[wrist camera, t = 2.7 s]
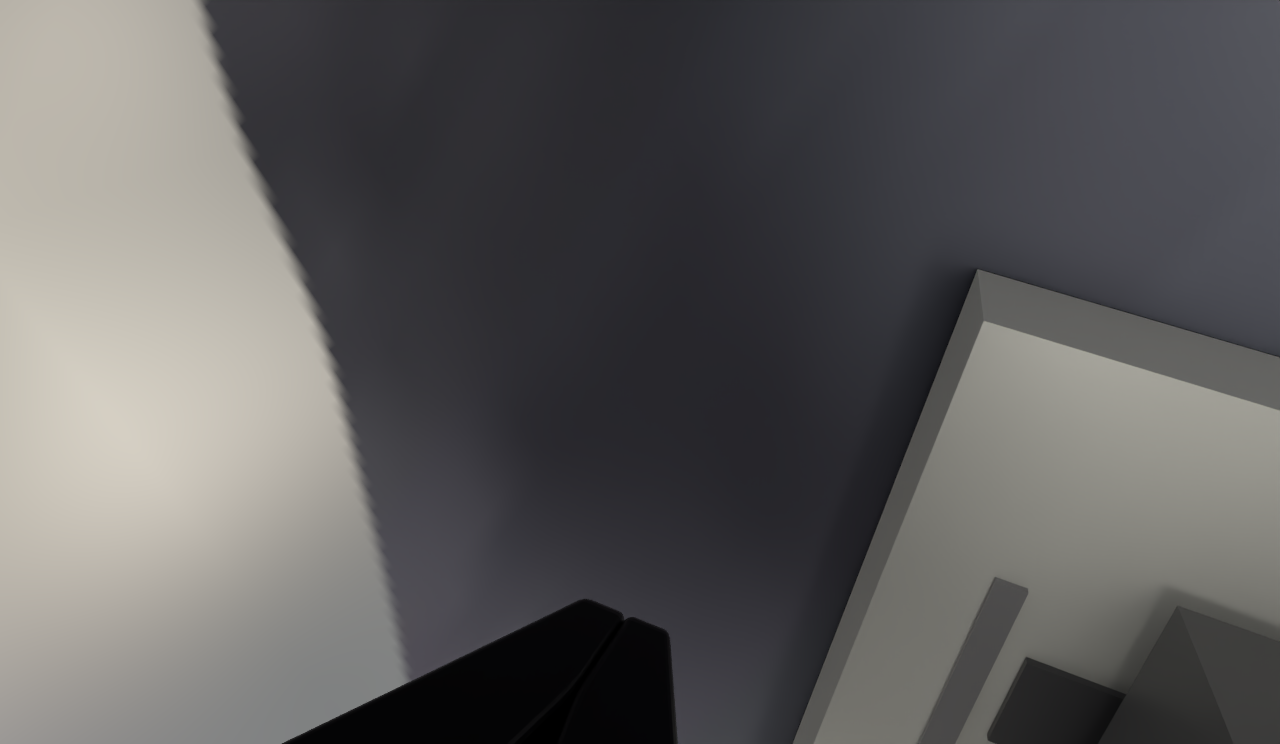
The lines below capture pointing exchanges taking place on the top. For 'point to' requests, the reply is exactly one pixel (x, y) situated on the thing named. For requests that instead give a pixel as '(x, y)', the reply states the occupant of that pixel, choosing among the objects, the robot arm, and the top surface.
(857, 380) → the top surface
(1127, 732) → the black fader
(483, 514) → the top surface
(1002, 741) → the console
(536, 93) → the top surface
